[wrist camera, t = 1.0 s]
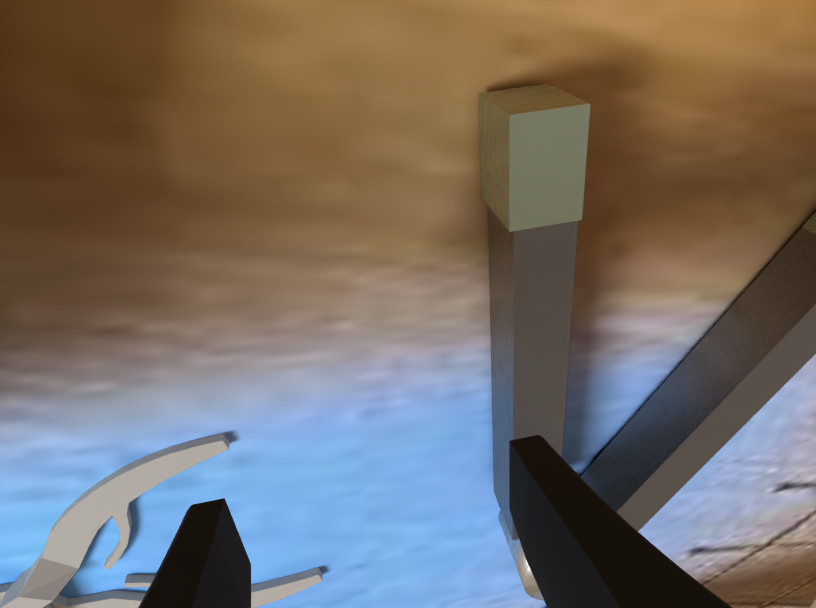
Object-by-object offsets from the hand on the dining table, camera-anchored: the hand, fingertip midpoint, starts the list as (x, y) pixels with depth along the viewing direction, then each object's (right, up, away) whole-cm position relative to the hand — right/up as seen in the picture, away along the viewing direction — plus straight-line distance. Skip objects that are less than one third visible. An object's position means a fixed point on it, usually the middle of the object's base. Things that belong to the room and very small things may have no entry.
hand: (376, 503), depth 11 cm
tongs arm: (+4, +3, +9) cm, 10 cm away
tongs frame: (+11, +1, +11) cm, 16 cm away
